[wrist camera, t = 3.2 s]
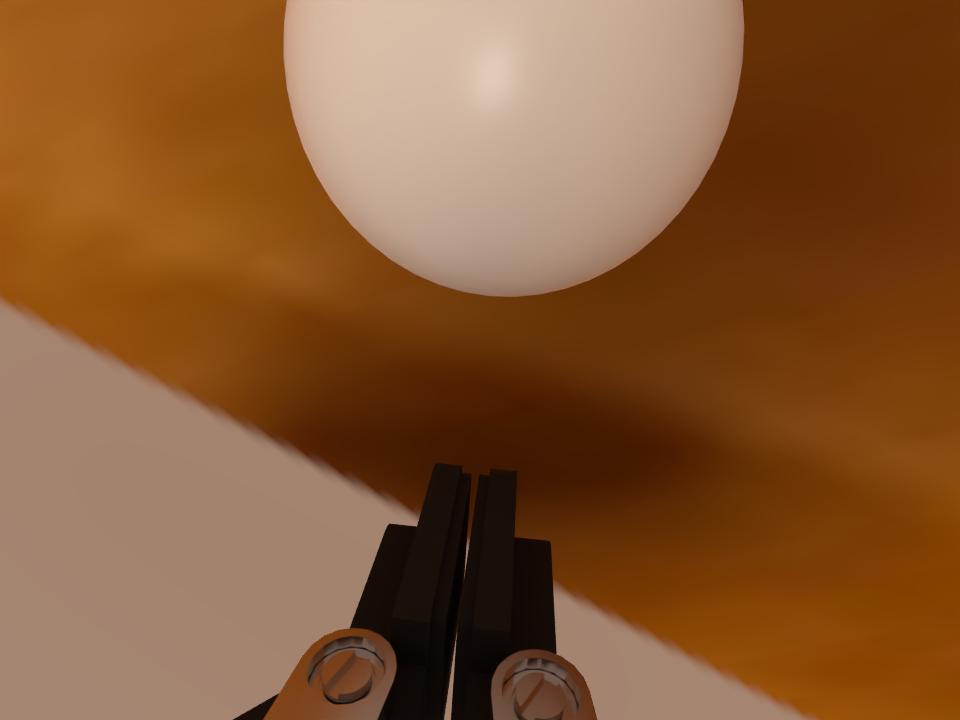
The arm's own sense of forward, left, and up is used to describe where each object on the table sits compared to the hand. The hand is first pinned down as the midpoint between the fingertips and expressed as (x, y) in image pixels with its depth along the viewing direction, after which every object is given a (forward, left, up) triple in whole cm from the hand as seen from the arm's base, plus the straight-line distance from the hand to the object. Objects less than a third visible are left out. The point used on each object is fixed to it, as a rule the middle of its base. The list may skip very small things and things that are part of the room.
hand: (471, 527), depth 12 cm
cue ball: (0, -8, +1) cm, 8 cm away
